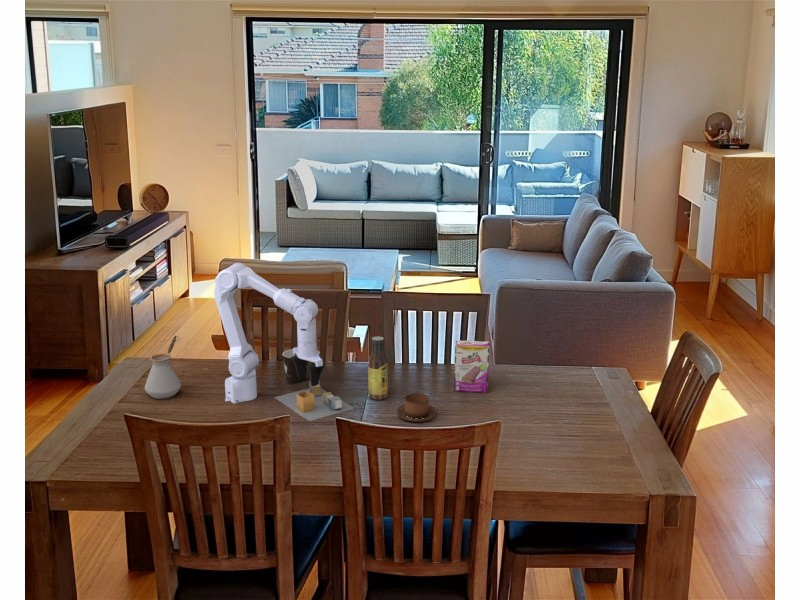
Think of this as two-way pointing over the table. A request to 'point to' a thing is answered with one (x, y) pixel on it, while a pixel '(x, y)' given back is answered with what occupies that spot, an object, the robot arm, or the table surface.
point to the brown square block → (305, 401)
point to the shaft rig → (327, 397)
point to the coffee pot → (162, 376)
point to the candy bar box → (471, 366)
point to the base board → (320, 407)
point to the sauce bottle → (378, 370)
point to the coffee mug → (291, 368)
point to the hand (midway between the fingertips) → (308, 381)
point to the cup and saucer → (416, 408)
